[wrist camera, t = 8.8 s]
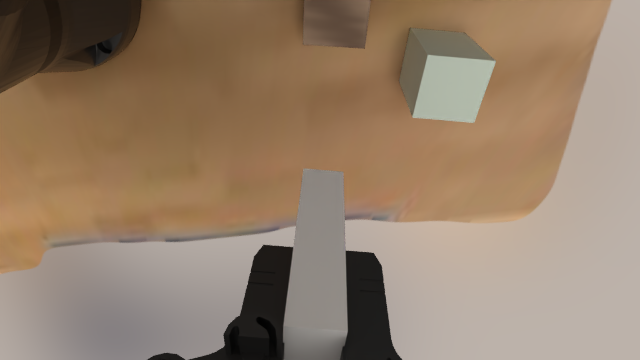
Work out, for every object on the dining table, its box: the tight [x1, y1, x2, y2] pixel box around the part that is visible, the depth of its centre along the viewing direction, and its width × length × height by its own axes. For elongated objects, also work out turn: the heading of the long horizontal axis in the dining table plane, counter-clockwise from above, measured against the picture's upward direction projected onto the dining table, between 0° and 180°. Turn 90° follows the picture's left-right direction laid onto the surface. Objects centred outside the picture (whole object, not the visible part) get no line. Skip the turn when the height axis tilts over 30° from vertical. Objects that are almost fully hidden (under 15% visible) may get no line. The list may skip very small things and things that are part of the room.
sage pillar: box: [399, 28, 496, 123], centre depth 32 cm, size 5×5×8 cm
